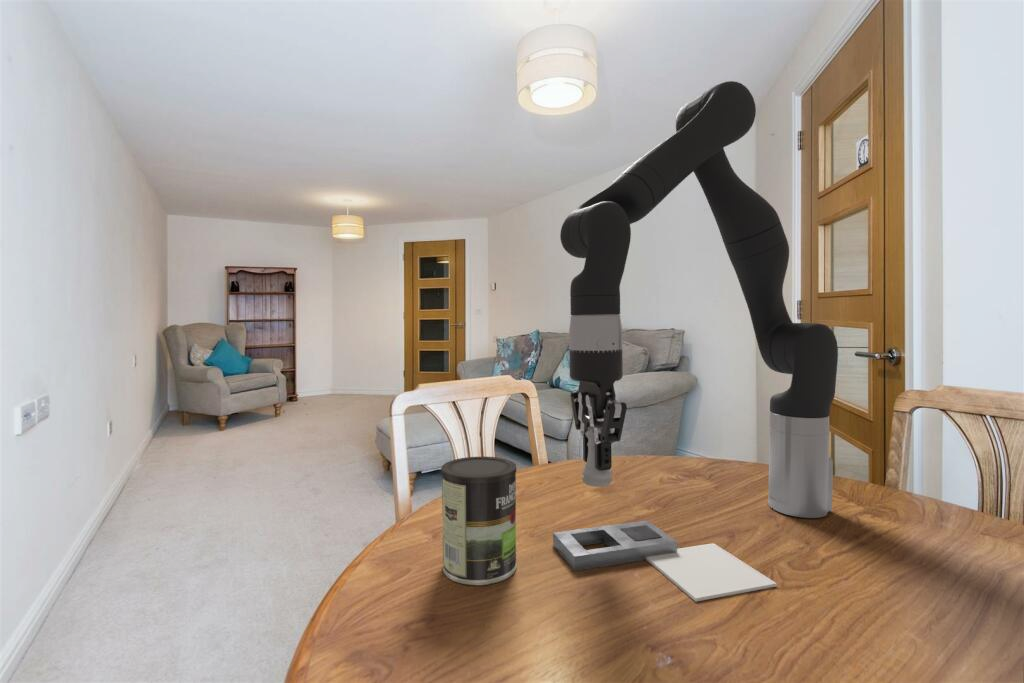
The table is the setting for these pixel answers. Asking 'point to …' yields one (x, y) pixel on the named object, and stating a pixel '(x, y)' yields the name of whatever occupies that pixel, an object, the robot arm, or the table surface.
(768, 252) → the robot arm
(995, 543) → the table surface
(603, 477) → the rook chess piece
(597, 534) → the grey rectangular frame
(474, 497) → the coffee can
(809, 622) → the table surface
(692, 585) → the mat
